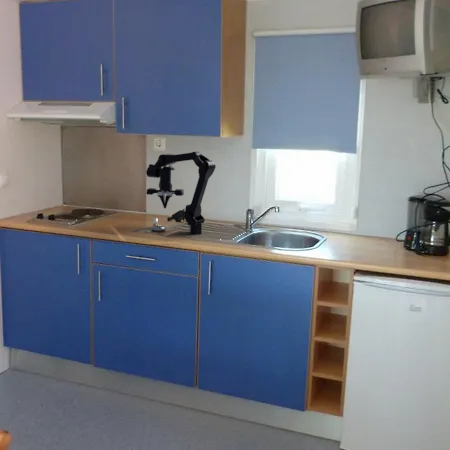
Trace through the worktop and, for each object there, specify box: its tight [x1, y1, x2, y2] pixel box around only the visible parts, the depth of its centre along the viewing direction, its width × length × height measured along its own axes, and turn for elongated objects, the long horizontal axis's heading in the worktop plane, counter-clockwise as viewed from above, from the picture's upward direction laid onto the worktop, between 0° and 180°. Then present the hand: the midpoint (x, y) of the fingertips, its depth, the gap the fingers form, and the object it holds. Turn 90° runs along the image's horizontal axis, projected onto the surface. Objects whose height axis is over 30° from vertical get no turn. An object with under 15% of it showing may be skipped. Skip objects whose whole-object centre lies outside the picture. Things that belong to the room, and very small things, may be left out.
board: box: [129, 225, 182, 237], centre depth 279 cm, size 22×16×1 cm
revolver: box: [167, 208, 187, 224], centre depth 306 cm, size 3×18×12 cm
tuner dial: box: [151, 217, 167, 232], centre depth 279 cm, size 12×7×5 cm, turn 21°
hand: (165, 208), depth 282 cm, fingers closed
